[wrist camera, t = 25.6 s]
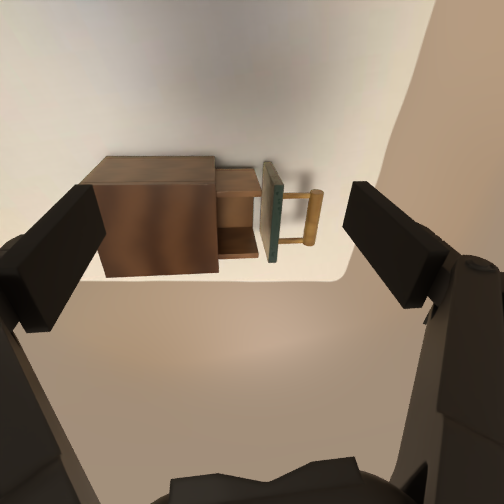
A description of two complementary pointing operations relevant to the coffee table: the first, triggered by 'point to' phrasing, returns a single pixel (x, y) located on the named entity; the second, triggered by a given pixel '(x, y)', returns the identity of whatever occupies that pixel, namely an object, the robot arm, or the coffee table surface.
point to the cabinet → (157, 215)
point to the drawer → (241, 212)
